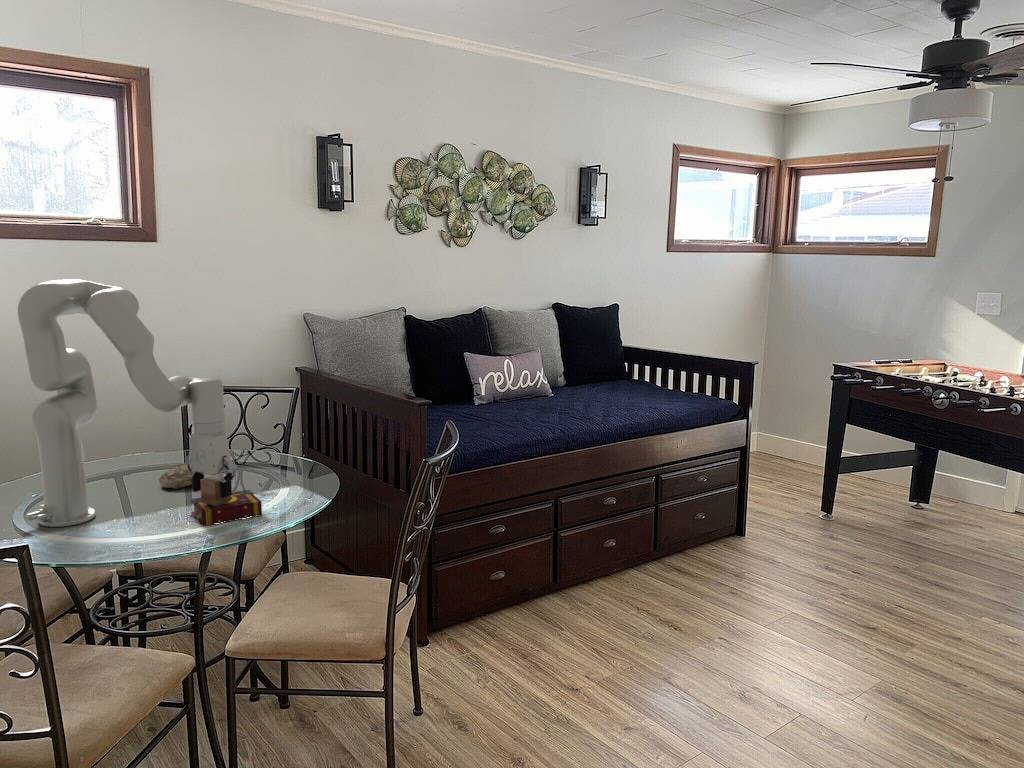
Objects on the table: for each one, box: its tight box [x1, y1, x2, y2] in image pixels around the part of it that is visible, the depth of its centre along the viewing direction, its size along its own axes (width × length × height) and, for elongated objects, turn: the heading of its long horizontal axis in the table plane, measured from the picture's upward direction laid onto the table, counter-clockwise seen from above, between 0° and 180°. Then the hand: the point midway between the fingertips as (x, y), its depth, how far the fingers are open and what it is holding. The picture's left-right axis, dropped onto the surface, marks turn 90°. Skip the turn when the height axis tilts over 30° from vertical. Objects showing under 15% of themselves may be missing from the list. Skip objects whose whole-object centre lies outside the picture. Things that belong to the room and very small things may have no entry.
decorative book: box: [189, 489, 263, 527], centre depth 203 cm, size 11×16×5 cm
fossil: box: [158, 462, 204, 490], centre depth 229 cm, size 12×8×10 cm
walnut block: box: [200, 474, 231, 506], centre depth 200 cm, size 5×5×6 cm
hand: (212, 493), depth 199 cm, fingers open, 9 cm apart
